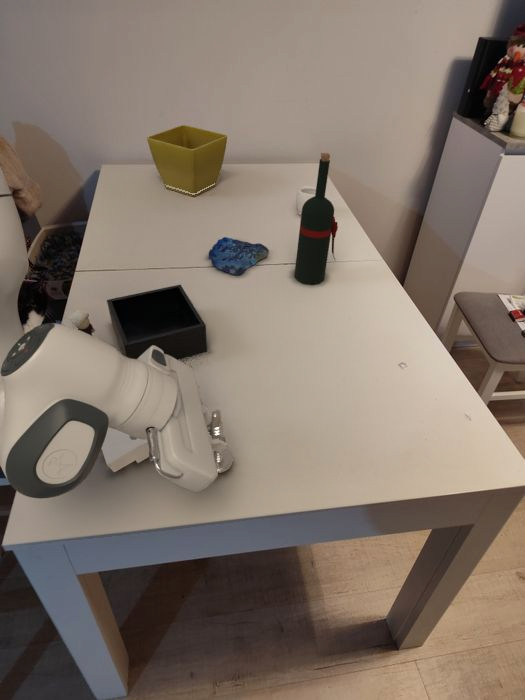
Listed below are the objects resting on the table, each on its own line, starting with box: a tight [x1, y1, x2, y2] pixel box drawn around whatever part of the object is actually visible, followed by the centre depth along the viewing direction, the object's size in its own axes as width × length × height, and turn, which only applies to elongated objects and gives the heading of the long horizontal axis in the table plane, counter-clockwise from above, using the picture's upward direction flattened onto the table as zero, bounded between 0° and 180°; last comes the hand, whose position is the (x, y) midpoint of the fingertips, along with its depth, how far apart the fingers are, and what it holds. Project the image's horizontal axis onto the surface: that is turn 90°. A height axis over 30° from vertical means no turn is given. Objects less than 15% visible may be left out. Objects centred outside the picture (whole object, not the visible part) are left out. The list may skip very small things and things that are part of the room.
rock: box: [208, 236, 270, 276], centre depth 119 cm, size 15×17×2 cm
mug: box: [295, 185, 316, 217], centre depth 141 cm, size 12×8×8 cm
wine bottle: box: [293, 152, 339, 286], centre depth 104 cm, size 8×10×30 cm
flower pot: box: [146, 124, 228, 198], centre depth 149 cm, size 19×19×17 cm
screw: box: [209, 409, 234, 474], centre depth 65 cm, size 13×5×5 cm
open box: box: [106, 284, 208, 360], centre depth 90 cm, size 16×16×7 cm
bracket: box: [101, 427, 149, 473], centre depth 71 cm, size 13×7×8 cm, turn 29°
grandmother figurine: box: [69, 309, 96, 336], centre depth 81 cm, size 8×4×13 cm, turn 8°
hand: (221, 436), depth 65 cm, fingers closed on screw, 2 cm apart
